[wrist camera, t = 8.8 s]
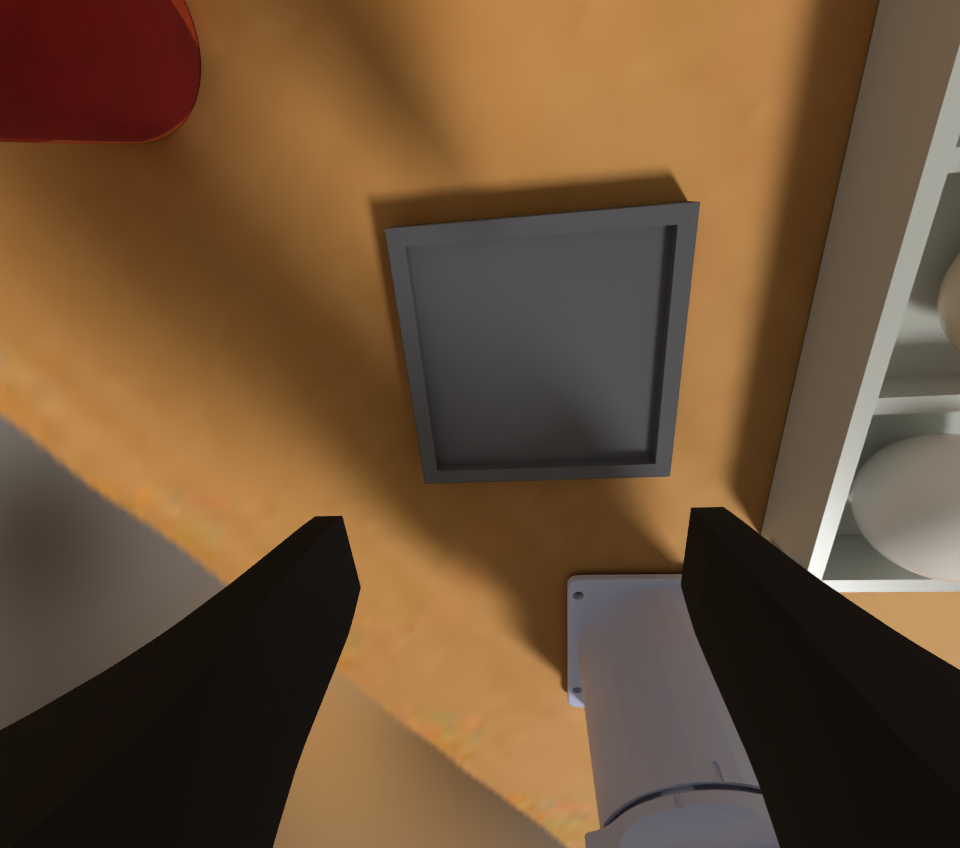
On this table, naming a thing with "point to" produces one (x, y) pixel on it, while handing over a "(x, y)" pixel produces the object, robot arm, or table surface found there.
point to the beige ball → (950, 303)
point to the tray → (878, 302)
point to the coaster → (546, 341)
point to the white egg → (913, 504)
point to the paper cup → (96, 70)
